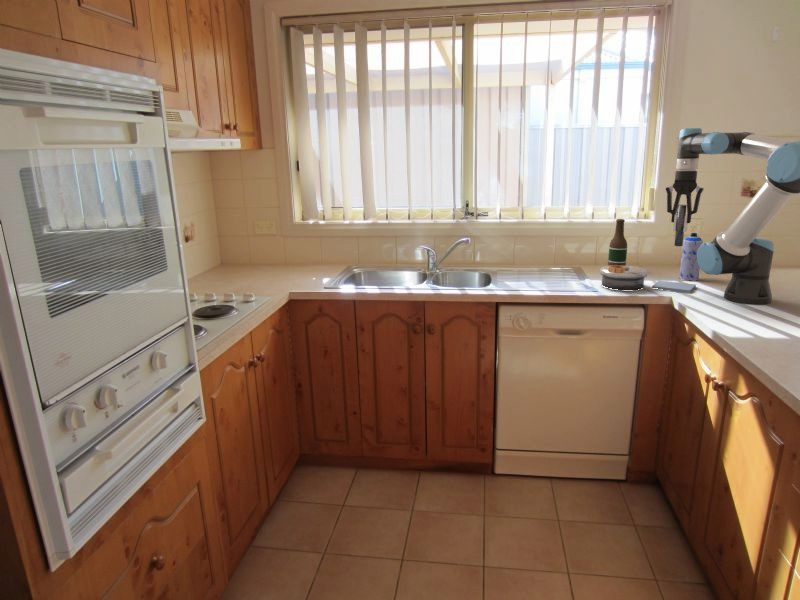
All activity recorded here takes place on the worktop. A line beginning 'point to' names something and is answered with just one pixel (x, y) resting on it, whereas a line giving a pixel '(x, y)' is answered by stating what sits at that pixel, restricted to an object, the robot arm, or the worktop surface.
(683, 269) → the aerosol can
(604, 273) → the disc
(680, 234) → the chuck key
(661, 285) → the plate
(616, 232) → the beer bottle
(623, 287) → the cylinder
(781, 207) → the robot arm
